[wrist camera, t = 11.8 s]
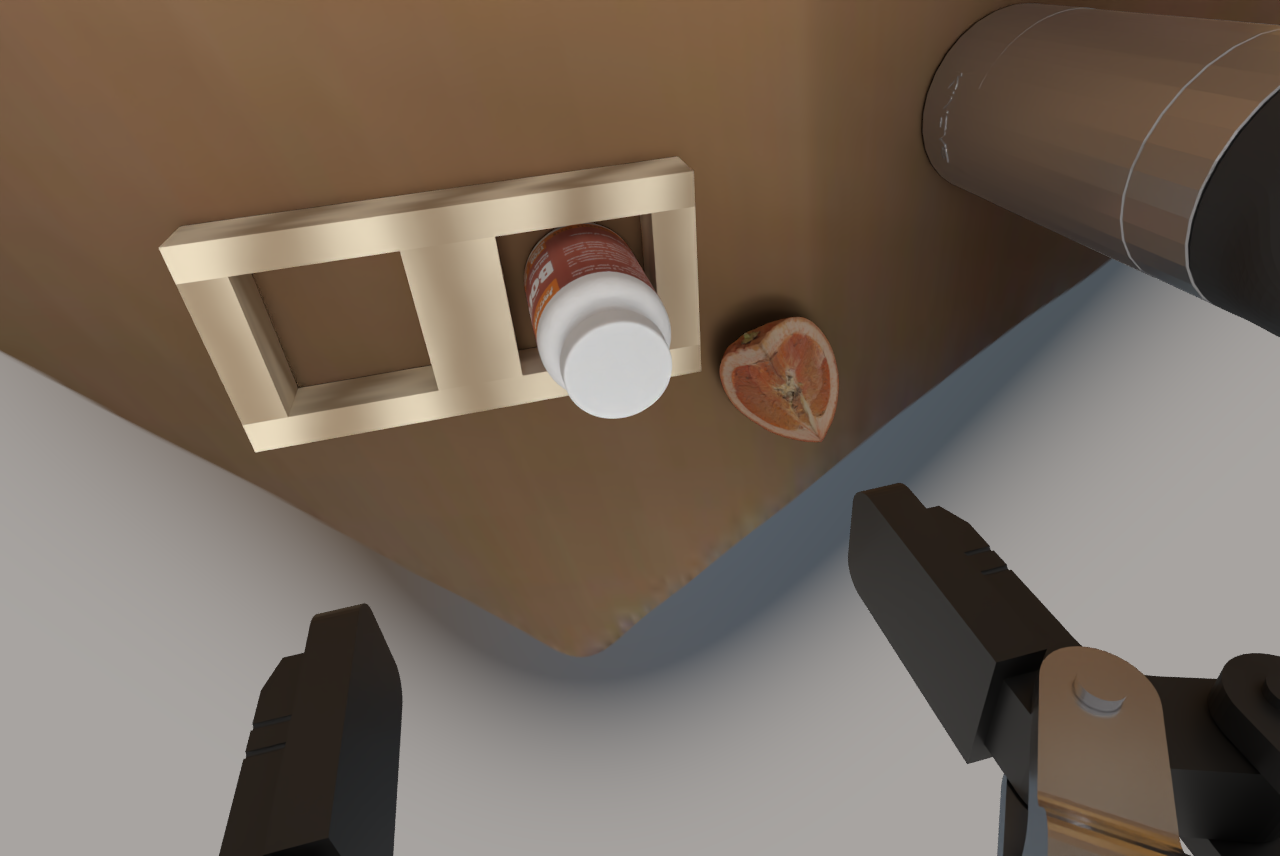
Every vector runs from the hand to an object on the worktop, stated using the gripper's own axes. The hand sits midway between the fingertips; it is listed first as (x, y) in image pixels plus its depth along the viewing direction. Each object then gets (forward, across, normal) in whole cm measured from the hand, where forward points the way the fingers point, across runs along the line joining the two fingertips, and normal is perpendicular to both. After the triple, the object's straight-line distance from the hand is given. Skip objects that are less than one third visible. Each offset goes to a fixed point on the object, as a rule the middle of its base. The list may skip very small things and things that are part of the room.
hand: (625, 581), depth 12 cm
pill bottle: (+29, -3, +6) cm, 30 cm away
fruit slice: (+29, -13, +14) cm, 35 cm away
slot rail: (+29, +4, +6) cm, 30 cm away
